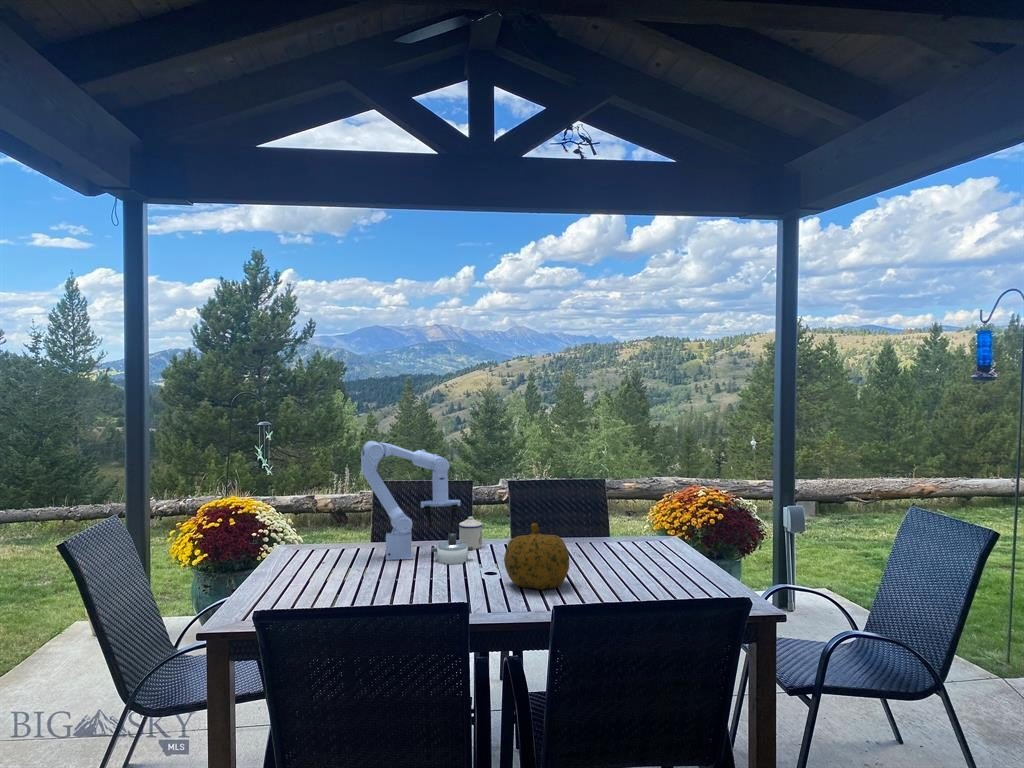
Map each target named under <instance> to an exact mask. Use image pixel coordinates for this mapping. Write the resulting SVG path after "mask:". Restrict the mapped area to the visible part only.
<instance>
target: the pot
mask: <svg viewBox="0 0 1024 768" xmlns="http://www.w3.org/2000/svg"><path fill="white" fill-rule="evenodd" d="M473 551H474V549H473V547H472V546H471V547H468V546H467V545H466V548H464V549H459V550H444V549H440V548H438V545H437V546H436V547H431V553H436V562H437V563H438V562H439V563H438V564H441V563H445V564H444V565H459V564H458V563H461V564H464V562H465V563H467V562H468V559H469V555H468V554H469V553H468V552H473ZM466 561H467V562H466Z"/></svg>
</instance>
